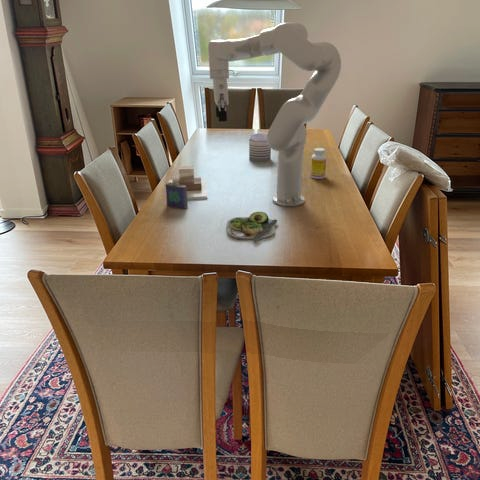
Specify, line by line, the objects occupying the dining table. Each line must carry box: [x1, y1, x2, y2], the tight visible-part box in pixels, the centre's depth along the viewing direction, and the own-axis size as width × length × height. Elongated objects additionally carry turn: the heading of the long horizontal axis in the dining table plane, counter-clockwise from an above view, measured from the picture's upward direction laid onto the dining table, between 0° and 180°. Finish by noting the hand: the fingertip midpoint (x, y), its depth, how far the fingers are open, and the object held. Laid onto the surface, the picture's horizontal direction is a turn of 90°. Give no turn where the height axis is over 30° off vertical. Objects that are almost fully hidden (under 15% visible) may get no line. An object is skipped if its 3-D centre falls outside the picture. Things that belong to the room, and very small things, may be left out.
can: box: [248, 133, 272, 164], centre depth 234 cm, size 11×11×12 cm
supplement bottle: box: [309, 147, 327, 180], centre depth 209 cm, size 7×7×13 cm
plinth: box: [171, 176, 202, 191], centre depth 195 cm, size 8×12×3 cm, turn 96°
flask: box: [165, 180, 189, 210], centre depth 177 cm, size 9×3×11 cm, turn 63°
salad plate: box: [226, 211, 278, 242], centre depth 158 cm, size 19×18×5 cm
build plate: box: [168, 178, 208, 201], centre depth 196 cm, size 22×16×1 cm
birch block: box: [178, 165, 195, 183], centre depth 193 cm, size 4×6×6 cm
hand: (221, 119), depth 189 cm, fingers open, 9 cm apart
